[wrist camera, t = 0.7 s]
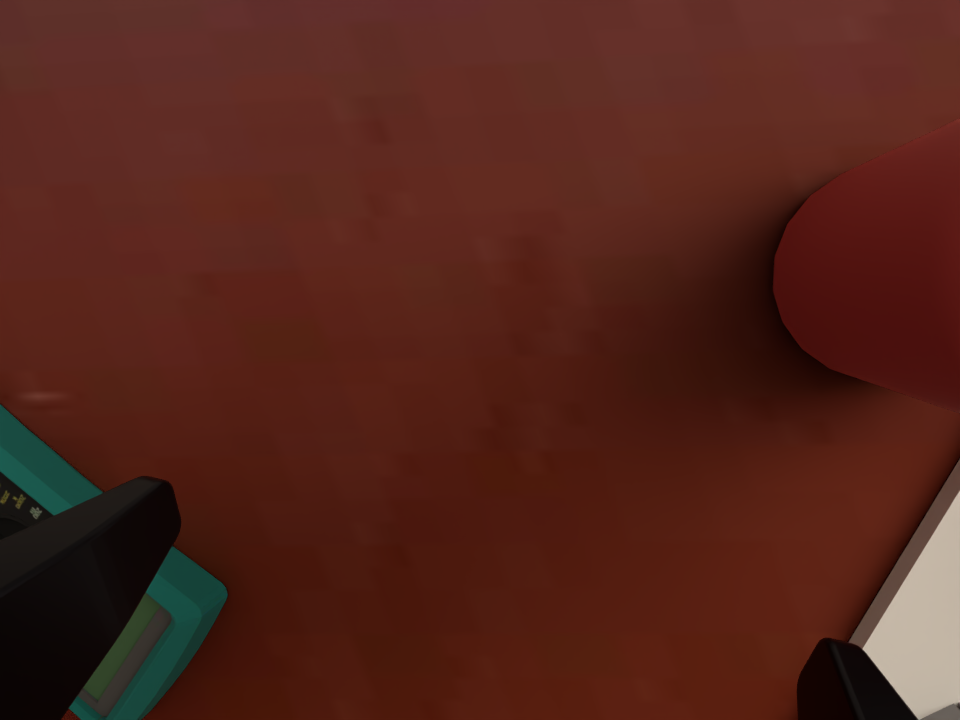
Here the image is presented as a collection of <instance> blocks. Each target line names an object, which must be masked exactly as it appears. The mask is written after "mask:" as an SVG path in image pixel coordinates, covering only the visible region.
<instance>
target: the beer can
mask: <svg viewBox="0 0 960 720" xmlns="http://www.w3.org/2000/svg"><path fill="white" fill-rule="evenodd" d="M773 292H774V296H775V299H776V302H777V306H778V309H779V313H780V316H781V319H782V322H783V324H784V325H785V327H786V328H787V329H788V331H789V332H790V333H791V335H792V336H793V338H794V339H795V340H796V342H797V343H798V344H799V346H800V347H801V349H802V350H804V351H805V352H807V353H808V354H809V355H811V356H812V357H814V358H815V359H816V360H818V361H819V362H821V363H822V364H823V365H825V366H826V367H828V368H829V369H831V370H834V371H837V372H840V373H843V374H846V375H849V376H852V377H855V378H857V379H860V380H863V381H866V382H869V383H872V384H875V385H878V386H881V387H884V388H887V389H890V390H892V391H895V392H898V393H901V394H904V395H907V396H910V397H913V398H916V399H919V400H922V401H925V402H928V403H930V404H933V405H936V406H939V407H942V408H945V409H948V410H951V411H954V412H957V413H960V118H959V119H957V120H955V121H953V122H951V123H949V124H947V125H944V126H942V127H940V128H938V129H936V130H934V131H932V132H929V133H927V134H925V135H923V136H921V137H919V138H917V139H915V140H912V141H910V142H908V143H906V144H904V145H902V146H900V147H898V148H895V149H893V150H891V151H889V152H887V153H885V154H883V155H881V156H878V157H876V158H874V159H872V160H870V161H868V162H866V163H864V164H861V165H859V166H857V167H855V168H853V169H851V170H849V171H846V172H844V173H842V174H841V175H839V176H838V177H836V178H835V179H833V180H832V181H830V182H829V183H828V184H826V185H825V186H823V187H822V188H820V189H819V190H817V191H816V192H815V193H813V194H812V195H810V196H809V198H808V199H807V200H806V201H805V203H804V204H803V205H802V206H801V208H800V209H799V210H798V211H797V213H796V214H795V215H794V216H793V218H792V219H791V220H790V221H789V223H788V224H787V226H786V229H785V231H784V234H783V236H782V239H781V241H780V244H779V247H778V249H777V252H776V254H775V258H774V278H773Z"/></svg>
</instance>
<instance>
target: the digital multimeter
mask: <svg viewBox="0 0 960 720" xmlns="http://www.w3.org/2000/svg"><path fill="white" fill-rule="evenodd" d="M7 477H8V478H7ZM13 482H14V483H13ZM18 486H19V487H18ZM24 491H25V492H24ZM102 493H104V492H102V491H101V490H100V489H99V488H97V487H96V486H95V485H94V484H92V483H91V482H90V481H88V480H87V479H86V478H85V477H84V476H82V475H81V474H80V473H79V472H78V471H77V470H75V469H74V468H73V467H72V466H71V465H70V464H68V463H67V462H66V461H65V460H64V459H63V458H61V457H60V456H59V455H58V454H57V453H56V452H55V451H53V450H52V449H51V448H50V447H49V446H48V445H46V444H45V443H44V442H43V441H42V440H40V439H39V438H38V437H37V436H35V435H34V434H33V433H32V432H31V431H29V430H28V429H27V428H26V427H25V426H24V425H23V424H21V423H20V422H19V421H18V420H17V419H16V418H15V417H14V416H13V415H12V414H10V413H9V412H8V411H7V410H6V409H5V408H4V407H3V406H2V405H1V404H0V540H2V539H4V538H6V537H9V536H11V535H13V534H15V533H17V532H19V531H22V530H24V529H26V528H28V527H30V526H33V525H35V524H37V523H39V522H41V521H43V520H46V519H48V518H50V517H52V516H53V515H56V514H59V513H61V512H63V511H65V510H67V509H70V508H72V507H74V506H76V505H78V504H80V503H83V502H85V501H87V500H89V499H91V498H93V497H96V496H98V495H100V494H102ZM29 495H30V496H31V497H30V496H29ZM35 500H36V501H37V502H36V501H35ZM41 505H42V506H41ZM46 509H47V510H48V511H47V510H46ZM52 514H53V515H52ZM227 596H228V594H227V589H226V587H225V586H224V585H223V584H222V583H221V582H220V581H219V580H217V579H216V578H215V577H213V576H212V575H211V574H209V573H208V572H207V571H206V570H204V569H203V568H202V567H200V566H199V565H198V564H196V563H195V562H194V561H192V560H191V559H190V558H188V557H187V556H186V555H184V554H183V553H181V552H180V551H179V550H177V549H176V548H175V547H173V546H172V547H171V549H170V551H169V553H168V554H167V556H166V558H165V560H164V561H163V563H162V565H161V566H160V568H159V570H158V572H157V573H156V575H155V577H154V579H153V580H152V582H151V584H150V586H149V587H148V589H147V591H146V593H145V594H144V596H143V598H142V600H141V601H140V603H139V605H138V607H137V608H136V610H135V612H134V614H133V615H132V617H131V619H130V620H129V622H128V623H127V625H126V627H125V628H124V630H123V631H122V633H121V634H120V636H119V637H118V639H117V640H116V642H115V643H114V645H113V646H112V648H111V649H110V651H109V652H108V653H107V655H106V656H105V658H104V659H103V660H102V662H101V663H100V665H99V666H98V668H97V669H96V670H95V672H94V673H93V675H92V676H91V677H90V679H89V680H88V682H87V683H86V685H85V686H84V687H83V689H82V690H81V692H80V693H79V694H78V696H77V697H76V699H75V700H74V702H73V703H72V704H71V706H70V707H69V709H70V710H71V711H72V712H73V713H75V714H76V715H77V716H78V717H79V718H80V719H81V720H141V719H142V718H143V717H145V716H146V715H147V714H148V713H149V712H150V711H151V710H152V709H153V708H154V706H155V705H156V704H157V703H158V702H159V700H160V699H161V698H162V697H163V696H164V695H165V693H166V692H167V691H168V690H169V688H170V687H171V686H172V685H173V683H174V682H175V681H176V680H177V678H178V677H179V676H180V674H181V673H182V672H183V671H184V669H185V668H186V666H187V665H188V664H189V662H190V661H191V659H192V658H193V656H194V655H195V653H196V652H197V650H198V649H199V647H200V646H201V644H202V642H203V641H204V639H205V637H206V636H207V634H208V632H209V631H210V629H211V627H212V625H213V624H214V622H215V620H216V618H217V616H218V615H219V613H220V611H221V609H222V607H223V605H224V603H225V602H226V599H227Z"/></svg>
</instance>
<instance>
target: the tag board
mask: <svg viewBox="0 0 960 720" xmlns="http://www.w3.org/2000/svg"><path fill="white" fill-rule="evenodd" d="M849 643H853V644H855V645H858V646H859V647H861V648H862V649H863V650H864V651H865V652H866V653H867V654H868V656H869V657H870V658H871V660H872V661H873V662H874V663H875V665H876V666H877V667H878V668H879V670H880V671H881V672H882V674H883V675H884V676H885V677H886V679H887V680H888V681H889V683H890V684H891V685H892V686H893V688H894V689H895V690H896V691H897V693H898V694H899V695H900V697H901V698H902V699H903V700H904V702H905V703H906V704H907V705H908V707H909V708H910V709H911V711H912V712H913V713H914V714H915V716H916V717H917V718H918V720H960V459H959V461H958V463H957V464H956V466H955V468H954V469H953V471H952V472H951V474H950V476H949V477H948V479H947V481H946V482H945V484H944V486H943V487H942V489H941V491H940V492H939V494H938V495H937V497H936V499H935V500H934V502H933V504H932V505H931V507H930V509H929V510H928V512H927V514H926V515H925V517H924V519H923V520H922V522H921V523H920V525H919V527H918V528H917V530H916V532H915V533H914V535H913V537H912V538H911V540H910V542H909V543H908V545H907V547H906V548H905V550H904V551H903V553H902V555H901V556H900V558H899V560H898V561H897V563H896V565H895V566H894V568H893V570H892V571H891V573H890V574H889V576H888V578H887V579H886V581H885V583H884V584H883V586H882V588H881V589H880V591H879V593H878V594H877V596H876V598H875V599H874V601H873V602H872V604H871V606H870V607H869V609H868V611H867V612H866V614H865V616H864V617H863V619H862V621H861V622H860V624H859V626H858V627H857V629H856V630H855V632H854V634H853V635H852V637H851V639H850V640H849Z"/></svg>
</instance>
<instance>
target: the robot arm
mask: <svg viewBox="0 0 960 720" xmlns="http://www.w3.org/2000/svg"><path fill="white" fill-rule="evenodd" d="M180 528H181V517H180V513H179V509H178V505H177V502H176V498H175V494H174V490H173V487H172V485H171V484H170V483H169V482H168V481H166V480H162V479H158V478H154V477H149V476H141V477H137V478H135V479H133V480H130V481H128V482H126V483H124V484H122V485H120V486H117V487H115V488H113V489H111V490H109V491H106V492H104V493H102V494H100V495H98V496H96V497H93V498H91V499H89V500H87V501H85V502H83V503H80V504H78V505H76V506H74V507H72V508H70V509H67V510H65V511H63V512H61V513H59V514H56V515H54V516H52V517H50V518H48V519H46V520H43V521H41V522H39V523H37V524H35V525H33V526H30V527H28V528H26V529H24V530H22V531H19V532H17V533H15V534H13V535H11V536H9V537H6V538H4V539H2V540H0V720H61V718H62V717H63V716H64V714H65V713H66V711H67V710H68V709H69V707H70V706H71V704H72V703H73V702H74V700H75V699H76V697H77V696H78V694H79V693H80V692H81V690H82V689H83V687H84V686H85V685H86V683H87V682H88V680H89V679H90V677H91V676H92V675H93V673H94V672H95V670H96V669H97V668H98V666H99V665H100V663H101V662H102V660H103V659H104V658H105V656H106V655H107V653H108V652H109V651H110V649H111V648H112V646H113V645H114V643H115V642H116V640H117V639H118V637H119V636H120V634H121V633H122V631H123V630H124V628H125V627H126V625H127V623H128V622H129V620H130V619H131V617H132V615H133V614H134V612H135V610H136V608H137V607H138V605H139V603H140V601H141V600H142V598H143V596H144V594H145V593H146V591H147V589H148V587H149V586H150V584H151V582H152V580H153V579H154V577H155V575H156V573H157V572H158V570H159V568H160V566H161V565H162V563H163V561H164V560H165V558H166V556H167V554H168V553H169V551H170V549H171V547H172V546H173V544H174V542H175V540H176V539H177V537H178V534H179V532H180ZM797 706H798V720H918V718H917V717H916V716H915V714H914V713H913V712H912V711H911V709H910V708H909V707H908V705H907V704H906V703H905V702H904V700H903V699H902V698H901V697H900V695H899V694H898V693H897V691H896V690H895V689H894V688H893V686H892V685H891V684H890V683H889V681H888V680H887V679H886V677H885V676H884V675H883V674H882V672H881V671H880V670H879V668H878V667H877V666H876V665H875V663H874V662H873V661H872V660H871V658H870V657H869V656H868V654H867V653H866V652H865V651H864V650H863V649H862V648H861V647H859V646H858V645H855V644H853V643H849V642H845V641H840V640H836V639H832V638H823V639H821V640H820V641H819V642H818V644H817V645H816V647H815V649H814V650H813V652H812V654H811V656H810V657H809V659H808V661H807V663H806V664H805V666H804V668H803V669H802V671H801V673H800V675H799V679H798V684H797Z"/></svg>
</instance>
